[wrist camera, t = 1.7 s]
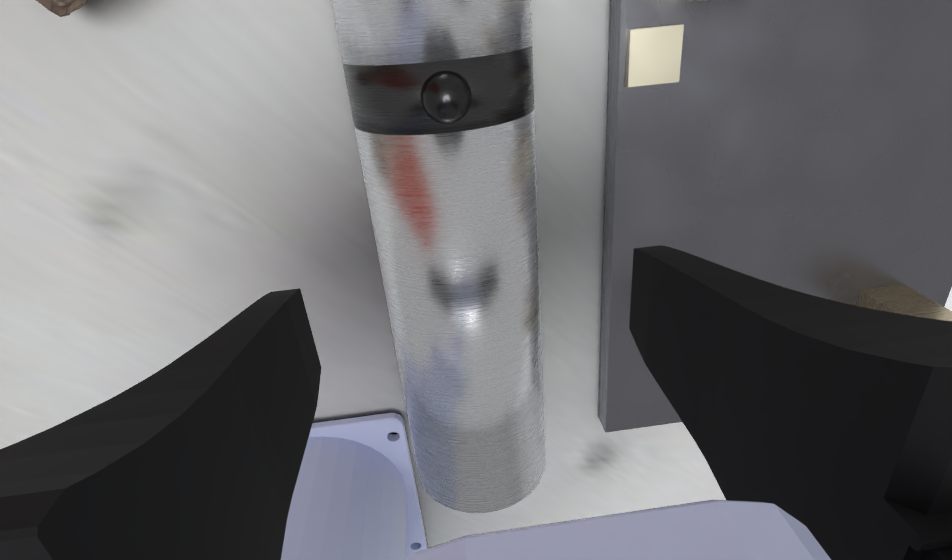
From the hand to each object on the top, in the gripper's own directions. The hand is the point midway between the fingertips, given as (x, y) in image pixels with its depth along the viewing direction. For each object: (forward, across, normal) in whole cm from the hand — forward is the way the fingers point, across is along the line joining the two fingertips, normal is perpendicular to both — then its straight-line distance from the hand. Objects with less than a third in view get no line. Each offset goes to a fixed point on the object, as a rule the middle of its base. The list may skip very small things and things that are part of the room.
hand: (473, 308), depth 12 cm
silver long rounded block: (+8, 0, 0) cm, 8 cm away
